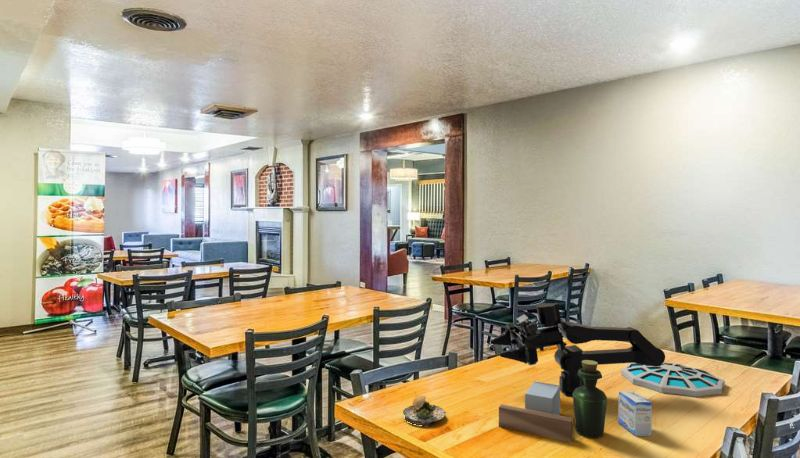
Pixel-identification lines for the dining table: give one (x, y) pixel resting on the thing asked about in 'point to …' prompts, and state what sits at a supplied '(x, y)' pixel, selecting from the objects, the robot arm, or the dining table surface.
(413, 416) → the grey dish with food
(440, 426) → the dining table surface
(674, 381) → the decorative platform
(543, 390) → the slate block
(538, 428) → the walnut board
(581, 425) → the potion bottle
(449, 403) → the dining table surface
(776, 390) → the dining table surface
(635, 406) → the medicine box
